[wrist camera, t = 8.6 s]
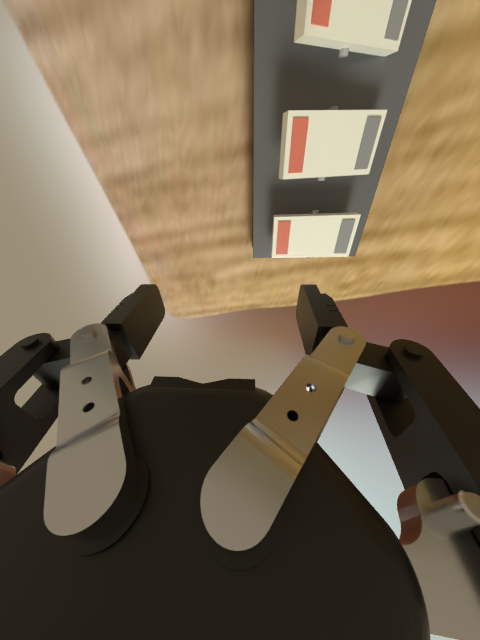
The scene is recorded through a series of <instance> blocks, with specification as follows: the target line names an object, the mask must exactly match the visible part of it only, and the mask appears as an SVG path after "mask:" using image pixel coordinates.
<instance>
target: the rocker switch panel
mask: <svg viewBox="0 0 480 640" xmlns="http://www.w3.org/2000/svg"><path fill="white" fill-rule="evenodd" d="M435 3H436V0H412V2H411V5H410V9H409V12H408V16H407V20H406V23H405V27H404V31H403V34H402V38H401V41H400V45H399V49H398V51H397V52H395V53H392V54H390V55H388V56H377V55H370V54H364V53H358V52H351V51H349V52H348V56H347V57H346V58H338V57H339V51H340V50H339V49H332V48H326V47H320V46H313V45H307V44H300V43H294V34H295V21H296V8H297V0H254V170H253V258H272V256H271V249H272V232H273V216H274V215H287V214H312V210H319V211H318V214H321V213H354V212H357V213H359V214H361V216H360V219H359V223H358V226H357V229H356V233H355V236H354V240H353V243H352V246H351V250H350V253H349V256H355V255H356V251H357V248H358V245H359V242H360V239H361V236H362V233H363V229H364V226H365V223H366V220H367V217H368V214H369V211H370V207H371V204H372V201H373V198H374V195H375V192H376V189H377V185H378V182H379V179H380V176H381V173H382V170H383V167H384V163H385V160H386V157H387V154H388V151H389V148H390V145H391V141H392V138H393V135H394V132H395V129H396V126H397V123H398V119H399V116H400V113H401V110H402V107H403V104H404V101H405V97H406V94H407V91H408V88H409V85H410V82H411V79H412V75H413V72H414V69H415V66H416V63H417V60H418V57H419V53H420V50H421V47H422V44H423V41H424V38H425V35H426V31H427V28H428V25H429V22H430V19H431V16H432V13H433V9H434V6H435ZM332 106H338V110H387V113H386V117H385V120H384V124H383V127H382V131H381V134H380V137H379V141H378V144H377V148H376V151H375V155H374V158H373V162H372V165H371V169H370V172H369V174H366V175H349V176H333V177H325V180H324V181H318V177H316V178H299V179H279V166H280V151H281V136H282V121H283V113H284V112H286V111H288V110H329V108H330V107H332Z"/></svg>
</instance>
